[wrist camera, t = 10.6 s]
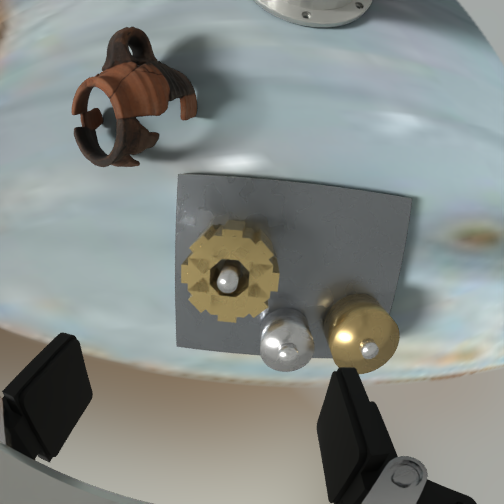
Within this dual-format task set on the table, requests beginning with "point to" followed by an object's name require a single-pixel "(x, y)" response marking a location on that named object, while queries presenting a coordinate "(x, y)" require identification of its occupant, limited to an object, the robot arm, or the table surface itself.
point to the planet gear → (249, 285)
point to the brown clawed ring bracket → (130, 98)
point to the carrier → (299, 270)
